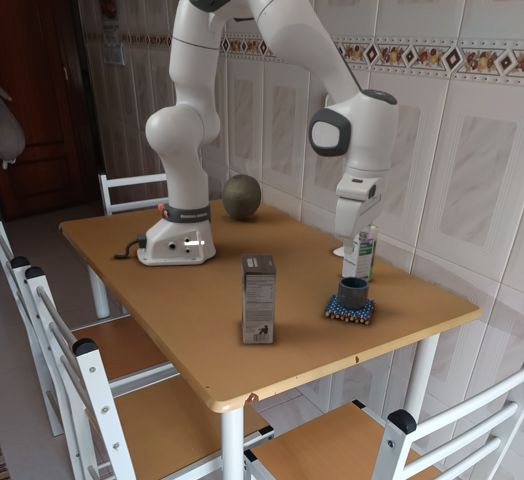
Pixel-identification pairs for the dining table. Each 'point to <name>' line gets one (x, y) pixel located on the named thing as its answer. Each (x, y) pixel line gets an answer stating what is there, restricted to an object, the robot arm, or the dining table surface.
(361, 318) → the woven mat
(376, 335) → the dining table surface
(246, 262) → the coffee box
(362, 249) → the syrup box
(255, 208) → the cantaloupe
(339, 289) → the cup
